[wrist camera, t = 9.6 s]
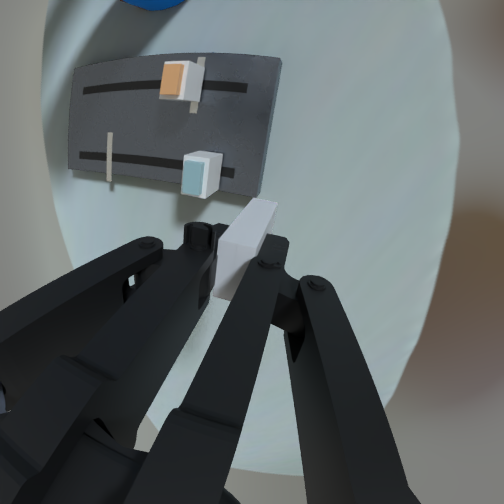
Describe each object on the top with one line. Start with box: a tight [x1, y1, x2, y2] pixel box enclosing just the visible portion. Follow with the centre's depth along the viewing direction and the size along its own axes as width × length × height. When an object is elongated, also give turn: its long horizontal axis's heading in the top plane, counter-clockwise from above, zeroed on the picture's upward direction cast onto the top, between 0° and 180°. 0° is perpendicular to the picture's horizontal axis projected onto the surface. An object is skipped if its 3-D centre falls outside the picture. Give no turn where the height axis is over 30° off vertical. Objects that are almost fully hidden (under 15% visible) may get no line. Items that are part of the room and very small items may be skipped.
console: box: [68, 53, 282, 198], centre depth 26 cm, size 15×26×2 cm, turn 81°
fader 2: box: [181, 151, 223, 199], centre depth 24 cm, size 4×2×4 cm, turn 171°
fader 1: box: [159, 61, 205, 102], centre depth 20 cm, size 4×2×4 cm, turn 171°
